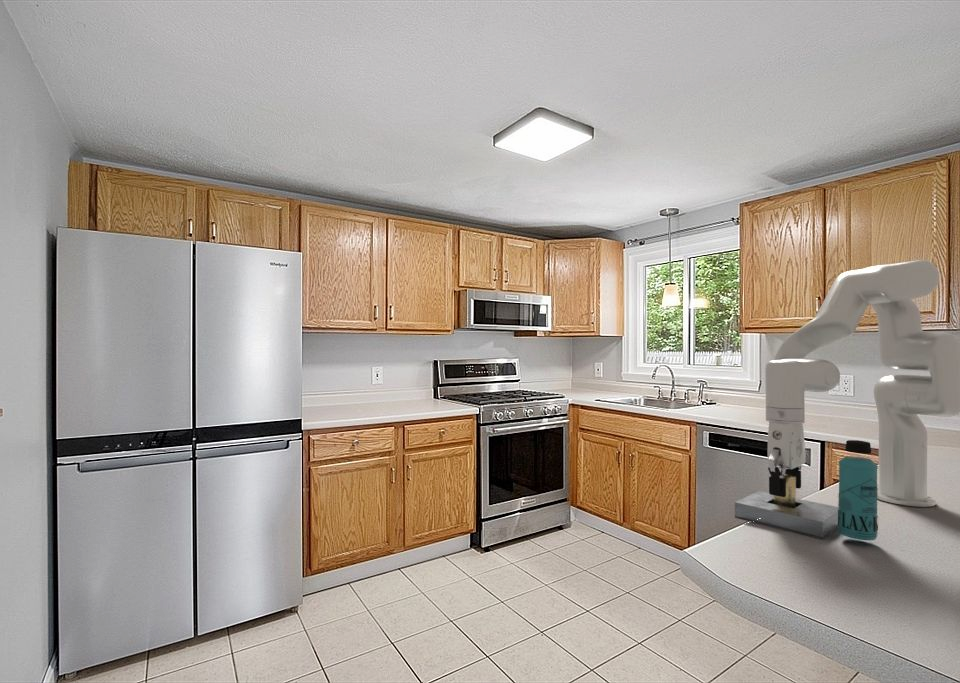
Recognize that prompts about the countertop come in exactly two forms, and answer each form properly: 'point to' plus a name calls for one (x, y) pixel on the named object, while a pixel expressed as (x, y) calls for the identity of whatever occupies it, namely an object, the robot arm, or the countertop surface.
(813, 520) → the jig
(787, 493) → the bushing
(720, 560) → the countertop surface
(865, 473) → the beverage bottle
